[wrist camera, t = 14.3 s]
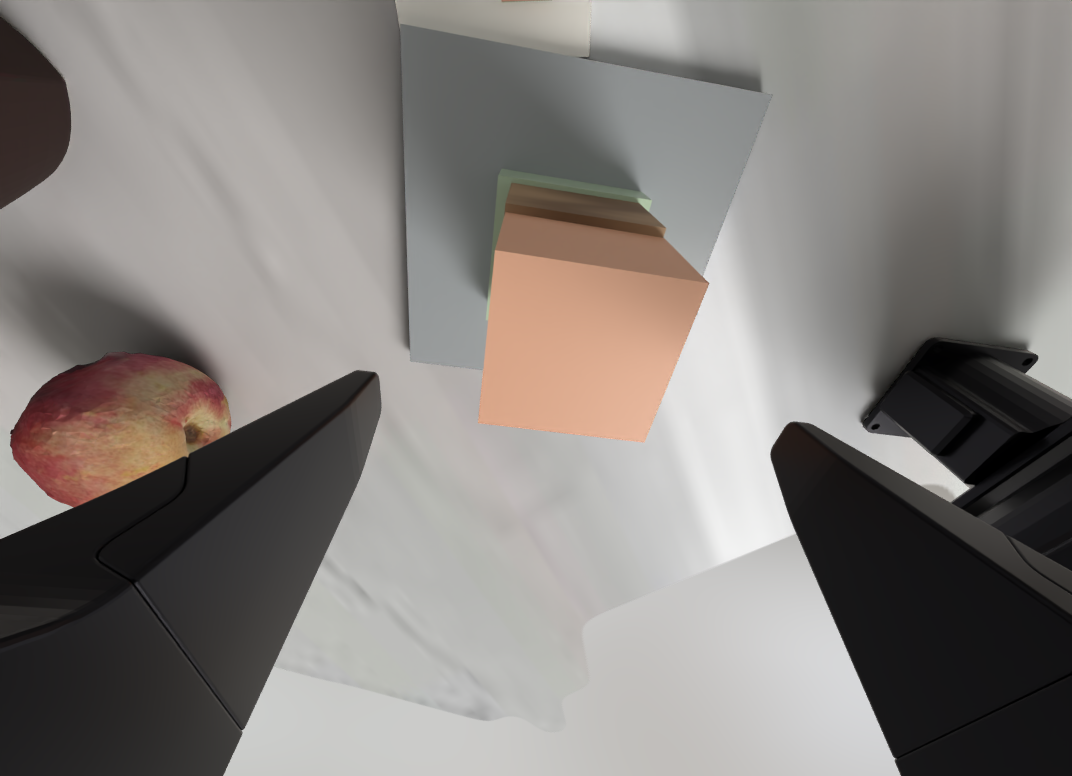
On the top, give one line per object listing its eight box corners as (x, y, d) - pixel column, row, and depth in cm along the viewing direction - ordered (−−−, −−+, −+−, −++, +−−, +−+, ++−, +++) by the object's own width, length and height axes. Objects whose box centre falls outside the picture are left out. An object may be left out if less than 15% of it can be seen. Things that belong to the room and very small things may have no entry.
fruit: (246, 451, 27) (153, 562, 21) (111, 400, 25) (-42, 507, 18) (275, 367, 23) (174, 469, 17) (120, 298, 21) (-69, 385, 14)
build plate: (762, 95, 16) (800, 93, 14) (654, 383, 24) (667, 413, 22) (406, 27, 15) (382, 12, 13) (413, 353, 23) (400, 381, 21)
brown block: (639, 203, 16) (666, 228, 13) (607, 319, 19) (623, 365, 15) (511, 182, 16) (505, 202, 12) (499, 304, 18) (491, 348, 15)
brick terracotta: (664, 238, 13) (709, 283, 10) (621, 371, 16) (644, 442, 12) (505, 212, 12) (494, 249, 9) (490, 354, 15) (478, 423, 12)
